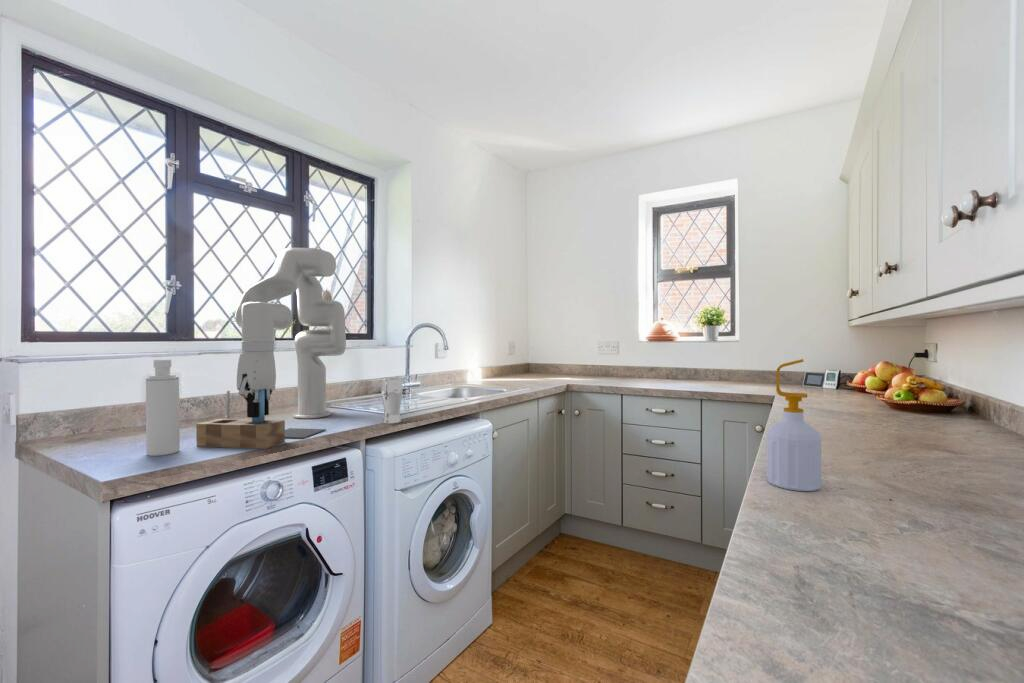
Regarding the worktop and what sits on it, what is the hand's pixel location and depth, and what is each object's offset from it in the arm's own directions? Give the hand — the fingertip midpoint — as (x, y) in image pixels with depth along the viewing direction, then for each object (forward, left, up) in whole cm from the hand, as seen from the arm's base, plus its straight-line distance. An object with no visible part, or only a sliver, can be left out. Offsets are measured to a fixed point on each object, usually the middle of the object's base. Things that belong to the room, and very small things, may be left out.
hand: (258, 415), depth 124 cm
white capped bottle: (+11, -18, -8) cm, 22 cm away
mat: (-14, +2, -8) cm, 16 cm away
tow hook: (-16, -20, -8) cm, 27 cm away
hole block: (0, -5, -8) cm, 9 cm away
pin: (0, 0, -2) cm, 2 cm away
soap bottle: (+17, +127, -8) cm, 128 cm away
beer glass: (-36, +23, -8) cm, 44 cm away
